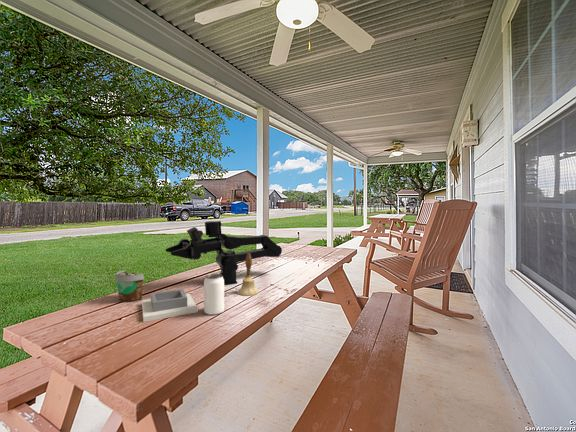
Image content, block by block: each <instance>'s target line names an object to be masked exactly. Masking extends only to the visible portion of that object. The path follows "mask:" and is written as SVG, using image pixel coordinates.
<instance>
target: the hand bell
mask: <svg viewBox="0 0 576 432" xmlns="http://www.w3.org/2000/svg"><path fill="white" fill-rule="evenodd" d="M252 265H253V259H252V258H251V254H250V253H248V254H247V256H246V261H245V266H246V275H245V276H246V277H245V278H243V279H242V284H241V287H240V288H239V290H238V291H237V293H238V295H240V296H243V297H245V296H247V297H250V296H255V295H257V294H259V290H258V289H257V288H256V286H255V279H254V278H252V277H251V274H252V271H251V269H252Z"/></svg>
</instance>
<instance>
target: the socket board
mask: <svg viewBox="0 0 576 432" xmlns="http://www.w3.org/2000/svg"><path fill="white" fill-rule="evenodd" d="M141 306H142V318H143V319H142V320H143V323H145V322H151V321H155V320H156V321H157V320H161V319H166V318H172V317H173V318H174V317H179V316H182V315H183V316H185V315H189V314H190V315H191V314H194V313H199V311H198V309H199V307H198V306H197V304H196V302H195V301H194V299H193V297H192V296H191V294H190V293H185V291H184V289H183V288H181V289H179V288H178V289H174V290H166V291H164V290H163V291H159V292H152V293H150V299H142V300H141Z"/></svg>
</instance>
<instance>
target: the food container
mask: <svg viewBox="0 0 576 432" xmlns="http://www.w3.org/2000/svg"><path fill="white" fill-rule="evenodd" d="M114 280H115V281H116V284H117V292H118V301H119V302H120V303H121V302H122V303H134V302H138V301H142V300H143V289H144V286H143V285H144V280H145V275H144V273H140V274H139V273H138V274H136V273H134V272H126V271H125V269H124V270H120V271H117V272H116V273H115V275H114Z"/></svg>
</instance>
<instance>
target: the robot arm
mask: <svg viewBox="0 0 576 432" xmlns="http://www.w3.org/2000/svg"><path fill="white" fill-rule="evenodd" d="M204 227H205V230H204V231H205V235H206V236H207V237H208V238H206V239H203V238H202V237H203V235H204V233H203V230H200V229H198V228H197V227H194V226H193V227H191V228H189V229H187V230H186V232H187V234H188V236H189V237H190V239H188V238H181V239H180V240H179V242H178V243H177V244H174V245H171V246H170V247H167V248H165V252H166V253H170V256H175V257H177V258H178V257H180V258H184V259H189V260H194V261H196V260H200V258H201V257H202V254H205V255H206V254H208V253H210V252H211V253H213V252H216V256H215V262H216V264H218V266H219V268H220V272H219V274H221V275H223V279H224V286H226V285H233V284H237V283H238V281H237V271H238V268H239V265H238V263H240V262H241V263H242V262H244V261H246V256H247V254H248V253H250V254H251V258H252V260H254V259H259V258H260V259H261V258H264V257H267V258H279V257H281V254H282V252H283V249H282V247H281V246H280V245H278V244H276V243H275V242H274V241H273V240H272V239H270V237H269V236H268V235H266V234H265V235H264V234H260V235H250V236H248V235H247V236H234V235H233V236H232V235H226V234H225V233H222V221H221V220H216V221H215V220H213V221H212V220H209V221H205V222H204ZM250 245H251V246H253V245H261V246H262V247H261V248H255V249H251V250H245V251H239V252H236V251H235V250H234V249H237V248H240V247H242V246H250ZM223 248H224V249H226V250H224V249H223Z"/></svg>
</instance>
